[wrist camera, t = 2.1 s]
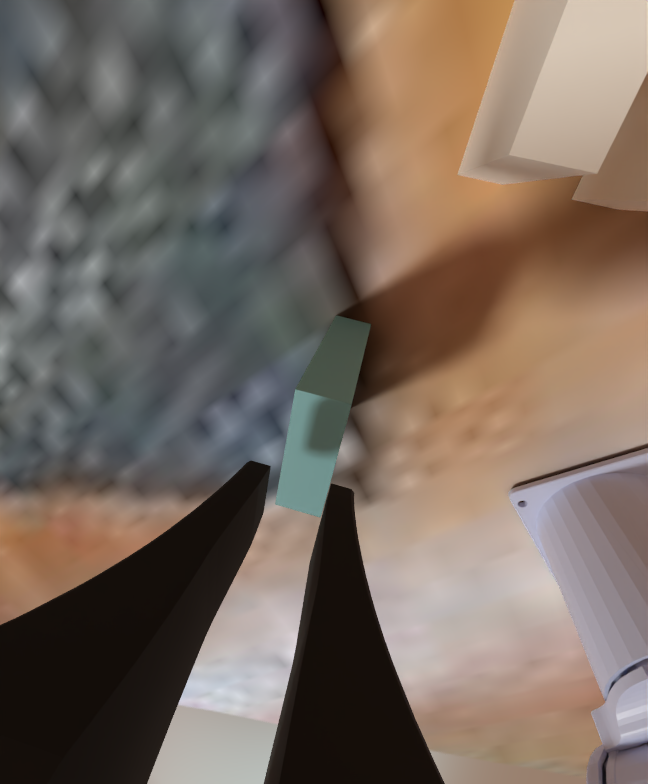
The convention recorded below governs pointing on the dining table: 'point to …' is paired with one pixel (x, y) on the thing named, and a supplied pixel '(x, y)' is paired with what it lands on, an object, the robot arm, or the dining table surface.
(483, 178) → the domino
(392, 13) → the dining table surface
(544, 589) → the dining table surface
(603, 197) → the domino
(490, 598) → the dining table surface
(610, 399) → the dining table surface
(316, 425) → the domino
